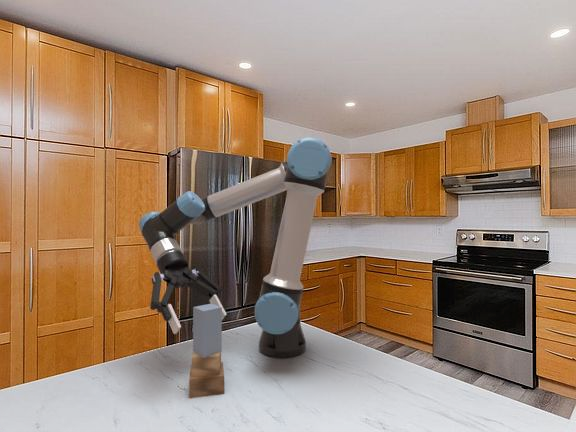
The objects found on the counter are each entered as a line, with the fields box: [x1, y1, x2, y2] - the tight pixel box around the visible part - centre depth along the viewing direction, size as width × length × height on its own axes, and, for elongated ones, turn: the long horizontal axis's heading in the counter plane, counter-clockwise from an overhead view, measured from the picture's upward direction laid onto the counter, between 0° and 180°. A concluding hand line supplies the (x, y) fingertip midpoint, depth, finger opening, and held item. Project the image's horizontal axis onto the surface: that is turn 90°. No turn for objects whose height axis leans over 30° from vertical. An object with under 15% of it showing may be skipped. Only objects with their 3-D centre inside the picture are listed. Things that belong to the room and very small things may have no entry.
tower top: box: [190, 351, 222, 377], centre depth 83 cm, size 6×6×4 cm
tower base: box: [188, 361, 225, 399], centre depth 83 cm, size 8×8×4 cm
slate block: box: [192, 303, 223, 358], centre depth 83 cm, size 5×5×11 cm
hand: (201, 323), depth 84 cm, fingers open, 13 cm apart
